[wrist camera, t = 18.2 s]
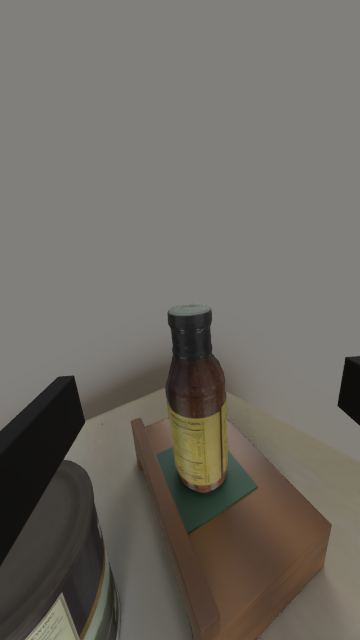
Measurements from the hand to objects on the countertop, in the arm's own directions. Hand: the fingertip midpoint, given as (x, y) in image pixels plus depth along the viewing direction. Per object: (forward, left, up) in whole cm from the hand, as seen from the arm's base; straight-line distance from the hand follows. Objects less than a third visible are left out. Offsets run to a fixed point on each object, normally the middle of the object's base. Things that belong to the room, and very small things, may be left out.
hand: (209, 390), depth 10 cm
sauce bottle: (-4, -9, -18) cm, 20 cm away
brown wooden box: (-5, -9, -24) cm, 26 cm away
